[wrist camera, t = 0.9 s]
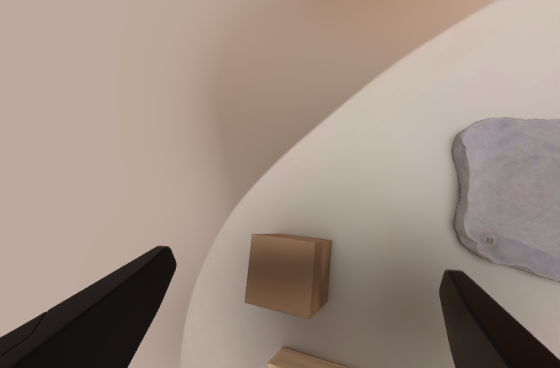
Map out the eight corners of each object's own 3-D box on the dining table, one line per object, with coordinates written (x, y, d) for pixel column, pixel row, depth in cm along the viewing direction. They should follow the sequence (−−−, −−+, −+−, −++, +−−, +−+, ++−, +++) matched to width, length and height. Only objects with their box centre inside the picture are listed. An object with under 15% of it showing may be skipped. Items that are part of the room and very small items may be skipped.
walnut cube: (327, 301, 22) (309, 318, 18) (273, 289, 24) (244, 302, 20) (331, 240, 23) (315, 242, 18) (278, 233, 25) (252, 234, 20)
